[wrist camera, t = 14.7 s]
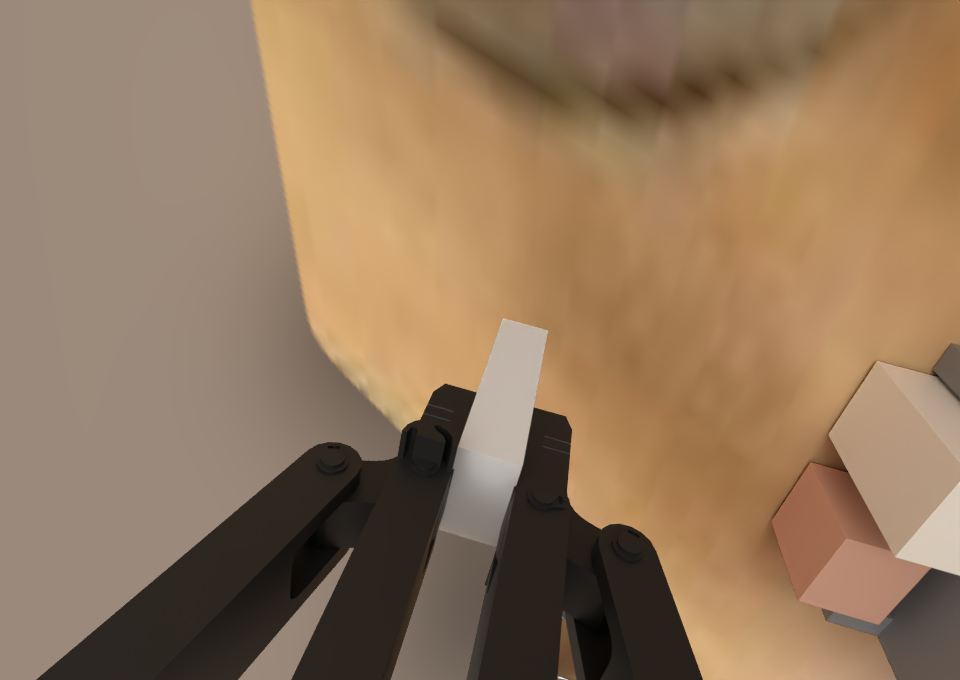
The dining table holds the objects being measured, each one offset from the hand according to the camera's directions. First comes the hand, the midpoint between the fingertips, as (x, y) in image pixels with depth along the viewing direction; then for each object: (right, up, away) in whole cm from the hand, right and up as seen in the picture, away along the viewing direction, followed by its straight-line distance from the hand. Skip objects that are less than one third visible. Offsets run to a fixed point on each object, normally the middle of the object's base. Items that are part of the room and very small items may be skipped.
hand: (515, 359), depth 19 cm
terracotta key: (+28, -13, +29) cm, 42 cm away
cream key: (+30, -4, +24) cm, 39 cm away
